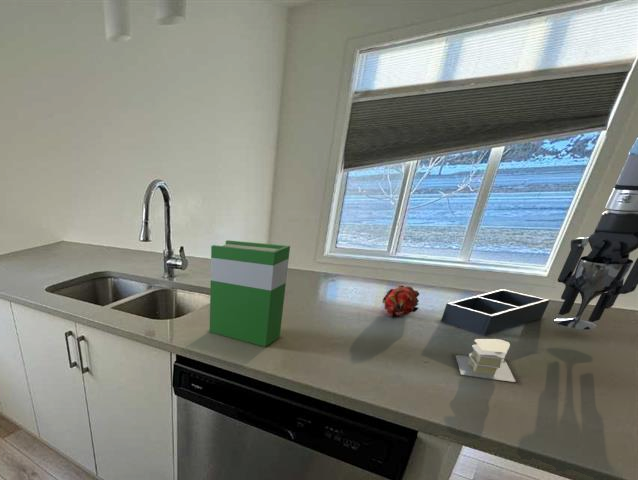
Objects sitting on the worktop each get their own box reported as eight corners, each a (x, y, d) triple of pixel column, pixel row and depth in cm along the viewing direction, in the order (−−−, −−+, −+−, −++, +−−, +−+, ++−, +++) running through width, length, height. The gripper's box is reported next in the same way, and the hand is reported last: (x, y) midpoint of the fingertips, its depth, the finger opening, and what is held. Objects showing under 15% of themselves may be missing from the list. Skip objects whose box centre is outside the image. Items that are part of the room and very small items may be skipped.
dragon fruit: (401, 311, 121) (395, 331, 114) (378, 293, 122) (371, 312, 115) (428, 292, 114) (423, 312, 107) (403, 273, 115) (397, 291, 108)
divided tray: (541, 318, 106) (550, 299, 103) (484, 335, 100) (492, 316, 98) (495, 306, 115) (502, 288, 112) (440, 321, 109) (446, 303, 107)
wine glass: (589, 318, 97) (622, 255, 90) (606, 331, 91) (642, 264, 84) (546, 316, 101) (573, 255, 93) (559, 328, 94) (590, 264, 87)
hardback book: (209, 331, 116) (211, 245, 104) (224, 323, 120) (227, 240, 108) (265, 346, 105) (274, 252, 93) (279, 337, 109) (290, 246, 97)
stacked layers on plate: (515, 382, 82) (527, 358, 79) (460, 374, 86) (469, 351, 83) (505, 361, 89) (515, 338, 86) (455, 355, 93) (463, 333, 90)
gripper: (564, 210, 90) (523, 309, 101) (683, 217, 75) (619, 332, 87) (586, 205, 92) (543, 303, 103) (706, 211, 77) (640, 325, 89)
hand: (578, 316), depth 95 cm, fingers closed on wine glass, 5 cm apart
